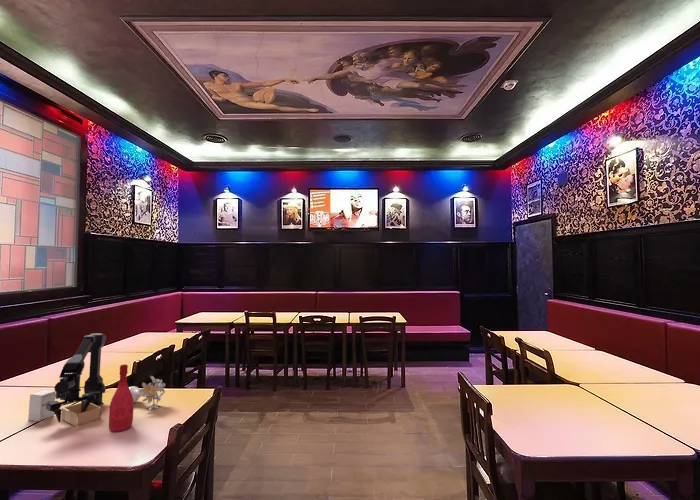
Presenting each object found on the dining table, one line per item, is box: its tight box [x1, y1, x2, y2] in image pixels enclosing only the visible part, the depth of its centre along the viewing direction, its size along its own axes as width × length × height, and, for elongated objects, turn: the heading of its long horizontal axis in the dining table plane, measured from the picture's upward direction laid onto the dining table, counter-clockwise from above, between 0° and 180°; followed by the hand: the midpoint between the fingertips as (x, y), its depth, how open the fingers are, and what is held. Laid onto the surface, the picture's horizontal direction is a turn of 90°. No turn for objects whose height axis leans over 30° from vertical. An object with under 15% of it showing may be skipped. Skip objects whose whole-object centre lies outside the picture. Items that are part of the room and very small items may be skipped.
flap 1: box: [61, 407, 70, 423], centre depth 177 cm, size 1×7×5 cm, turn 58°
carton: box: [63, 402, 102, 427], centre depth 180 cm, size 10×16×6 cm, turn 58°
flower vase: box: [128, 375, 166, 411], centre depth 199 cm, size 13×18×25 cm
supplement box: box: [27, 389, 56, 422], centre depth 180 cm, size 7×7×13 cm
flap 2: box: [67, 411, 77, 427], centre depth 173 cm, size 1×8×5 cm, turn 58°
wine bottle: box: [108, 364, 135, 433], centre depth 170 cm, size 10×10×30 cm
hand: (70, 419), depth 174 cm, fingers open, 9 cm apart
